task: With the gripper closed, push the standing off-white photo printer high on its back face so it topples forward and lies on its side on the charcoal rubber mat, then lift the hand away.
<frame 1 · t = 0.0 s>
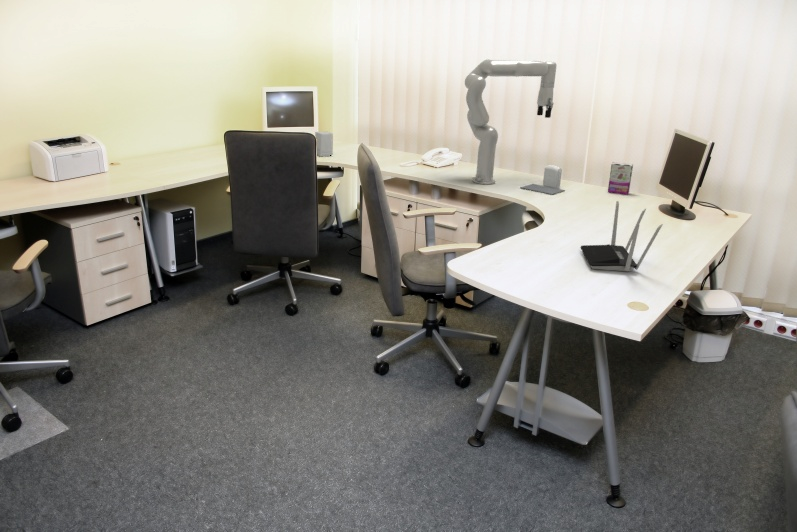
hand: (543, 116, 370), 37 cm above the table, tool pointing down, fingers open, 9 cm apart
supplement box: (324, 155, 431), on the table
mat: (542, 189, 363), on the table
candy bar box: (617, 193, 363), on the table
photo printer: (551, 187, 370), on the table
wireless router: (614, 262, 252), on the table
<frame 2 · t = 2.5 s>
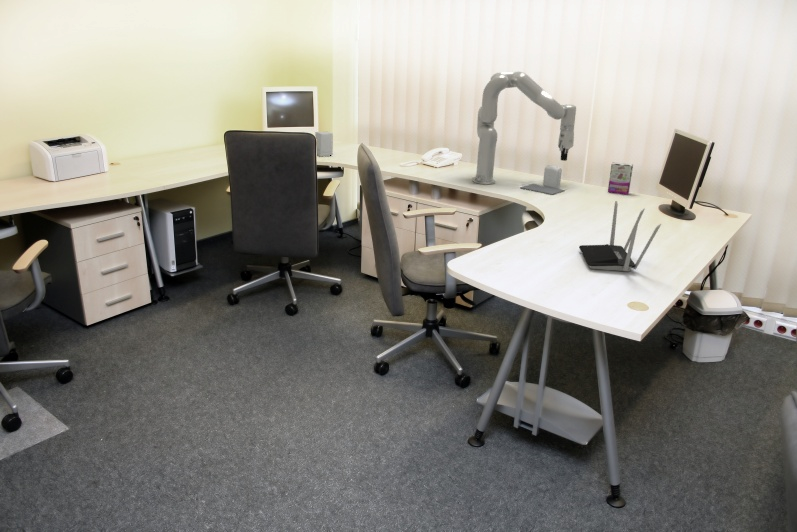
hand: (563, 160, 372), 14 cm above the table, tool pointing down, fingers closed
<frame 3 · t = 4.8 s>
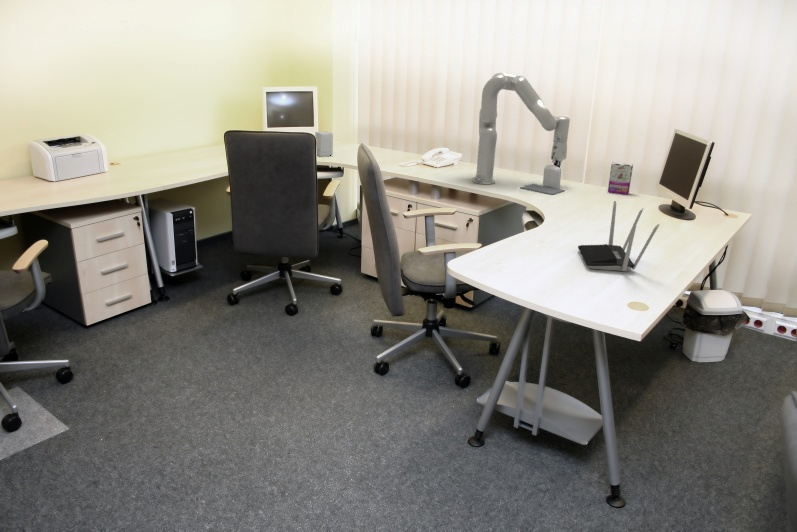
hand: (556, 172, 370), 8 cm above the table, tool pointing down, fingers closed
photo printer: (551, 187, 370), on the table, touching gripper
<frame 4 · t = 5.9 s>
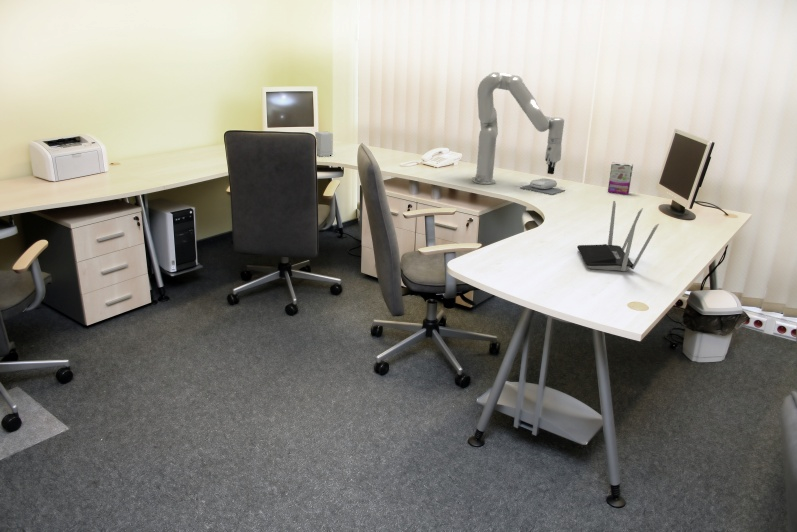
hand: (550, 173, 365), 8 cm above the table, tool pointing down, fingers closed
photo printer: (549, 182, 368), point 3 cm above the table, touching mat
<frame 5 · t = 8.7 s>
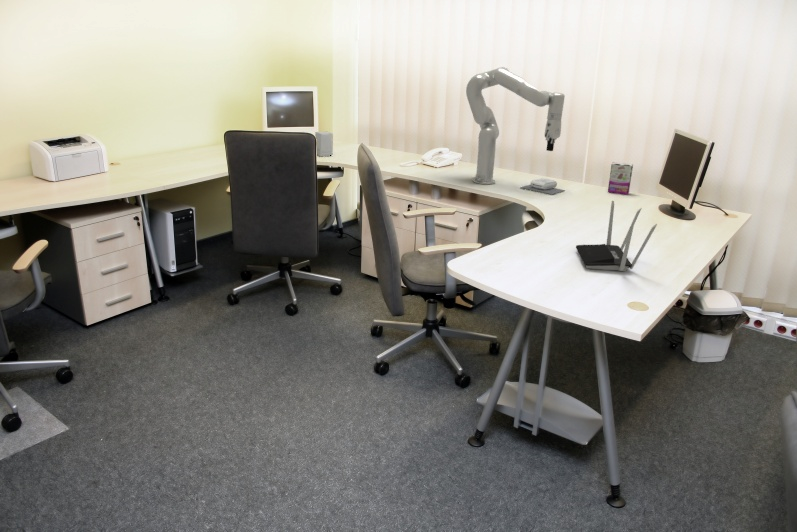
hand: (549, 150, 358), 21 cm above the table, tool pointing down, fingers closed
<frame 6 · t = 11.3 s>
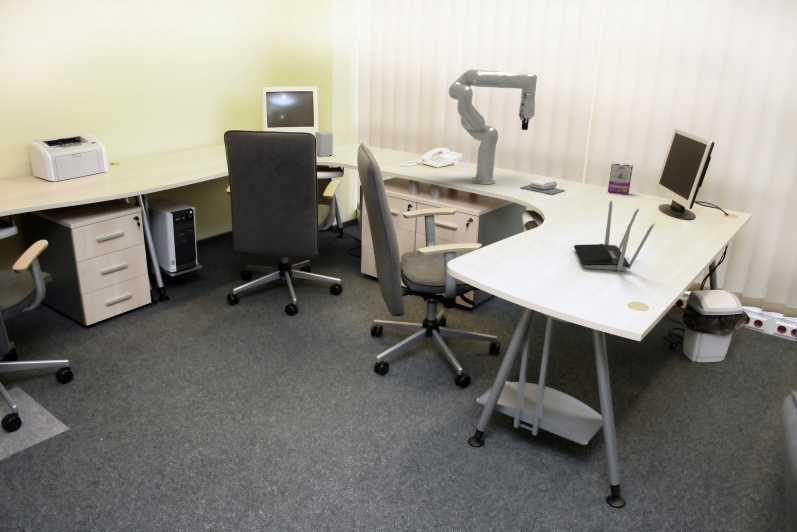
hand: (524, 129, 375), 29 cm above the table, tool pointing down, fingers closed
at the end: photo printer tilted 90°; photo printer touching mat; the gripper is holding nothing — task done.
